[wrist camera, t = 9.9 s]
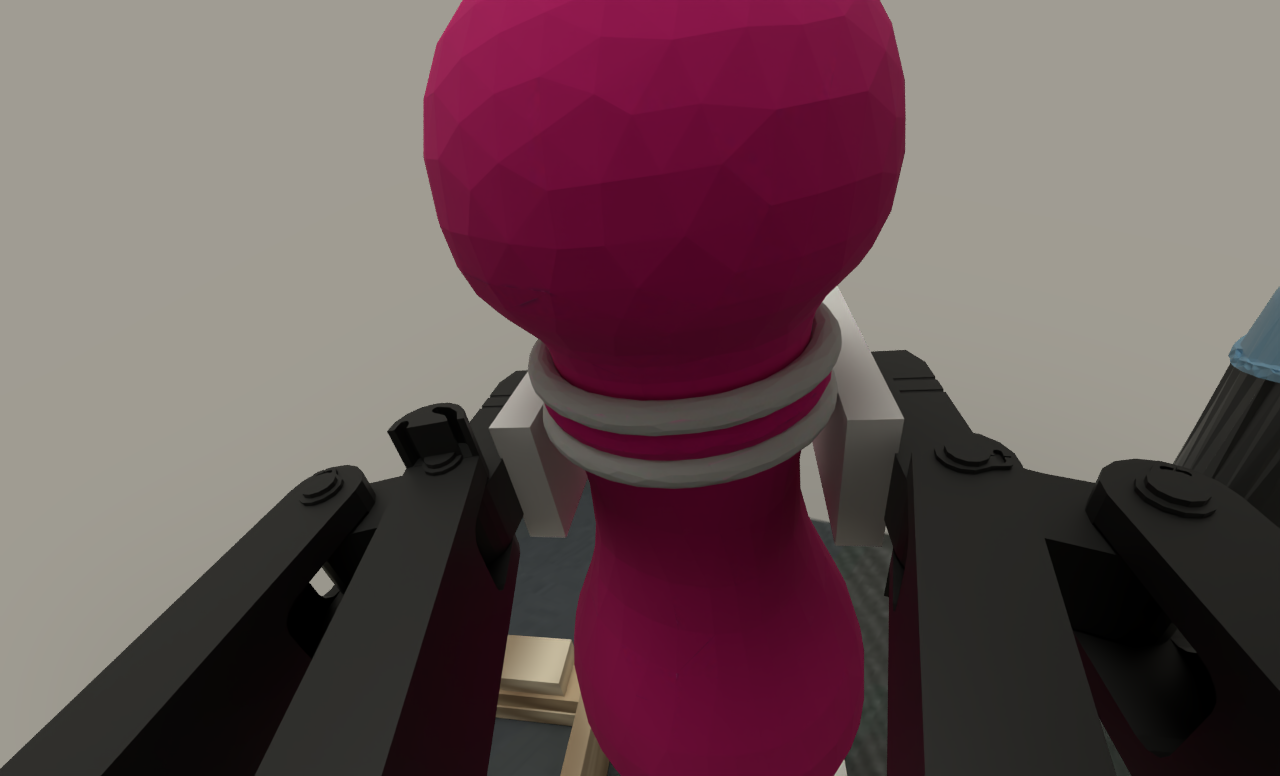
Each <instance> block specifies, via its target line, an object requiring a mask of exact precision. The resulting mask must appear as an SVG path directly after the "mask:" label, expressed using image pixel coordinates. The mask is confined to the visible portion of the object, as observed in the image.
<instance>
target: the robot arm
mask: <svg viewBox="0 0 1280 776" xmlns="http://www.w3.org/2000/svg"><path fill="white" fill-rule="evenodd" d="M823 303H824V304H825V305H826V306H827V307H828V308H829V310H830V311H831V312H832V314H833V315H834V317H835V318H836V319H837V320H838V323H839V326H840V329H841V337H842V346H841V351H840V354H839V357H838V360H837V362H836V364H835V366H834V367H833V370H834V372H835V376H836V381H837V386H838V394H837V401H836V405H835V409H834V412H833V413H832V415H831V417H830V419H829V421H828V423H827V425H826V427H825V428H824V429H823V430H822V431H821V432H820V433H819V435H818V436H817V437H816V438H815V439H814V440H813V441H812V442H813V446H814V451H815V456H816V460H817V465H818V469H819V474H820V478H821V483H822V488H823V492H824V497H825V501H826V506H827V510H828V515H829V519H830V524H831V528H832V533H833V538H834V542H835V545H837V546H871V547H882V544H883V538H884V532H885V526H886V527H887V530H888V533H889V536H890V539H891V542H892V545H893V552H892V557H891V562H890V567H889V572H888V577H887V583H886V588H885V593H884V596H887V597H889V658H888V744H887V776H1116V773H1115V769H1114V766H1113V763H1112V759H1111V756H1110V753H1109V749H1108V746H1107V743H1106V740H1105V736H1104V733H1103V730H1102V726H1101V723H1100V720H1101V722H1102V724H1103V725H1104V727H1105V729H1106V731H1107V733H1108V734H1109V736H1110V738H1111V740H1112V742H1113V743H1114V745H1115V747H1116V749H1117V750H1118V752H1119V754H1120V756H1121V758H1122V759H1123V761H1124V763H1125V765H1126V767H1127V768H1128V770H1129V772H1130V774H1131V776H1280V287H1279V288H1278V289H1277V290H1276V291H1275V293H1274V295H1273V296H1272V298H1271V299H1270V300H1269V302H1268V303H1267V305H1266V306H1265V308H1264V310H1263V311H1262V312H1261V314H1260V315H1259V317H1258V318H1257V320H1256V321H1255V323H1254V324H1253V326H1252V327H1251V329H1250V330H1249V332H1248V333H1247V334H1246V335H1245V336H1243V337H1242V338H1240V339H1239V340H1238V341H1237V342H1236V343H1235V344H1234V345H1233V347H1232V349H1231V351H1230V353H1229V357H1230V362H1231V363H1230V365H1229V367H1228V369H1227V370H1226V373H1225V374H1224V376H1223V378H1222V379H1221V381H1220V384H1219V385H1218V387H1217V388H1216V390H1215V392H1214V394H1213V396H1212V397H1211V399H1210V401H1209V403H1208V404H1207V406H1206V408H1205V410H1204V411H1203V413H1202V415H1201V417H1200V419H1199V420H1198V422H1197V424H1196V426H1195V427H1194V429H1193V431H1192V432H1191V434H1190V436H1189V437H1188V439H1187V441H1186V442H1185V444H1184V446H1183V448H1182V449H1181V451H1180V453H1179V454H1178V456H1177V458H1176V459H1175V461H1174V463H1173V464H1170V463H1166V462H1162V461H1152V460H1142V459H1129V460H1121V461H1115V462H1113V463H1111V464H1109V465H1108V466H1106V467H1104V468H1103V469H1102V470H1101V472H1100V475H1099V477H1098V479H1097V481H1096V483H1091V482H1086V481H1081V480H1075V479H1070V478H1065V477H1059V476H1054V475H1048V474H1044V473H1039V472H1035V471H1031V470H1027V469H1025V468H1023V466H1022V464H1021V463H1020V461H1019V460H1018V458H1017V457H1016V455H1015V453H1013V452H1012V451H1011V450H1009V449H1008V448H1006V447H1005V446H1004V445H1002V444H1001V443H1000V442H997V441H995V440H993V439H990V438H988V437H985V436H983V435H980V434H975V433H973V432H972V431H971V429H970V428H969V426H968V425H967V423H966V422H965V420H964V419H963V417H962V416H961V414H960V413H959V411H958V410H957V408H956V407H955V405H954V404H953V402H952V401H951V399H950V398H949V397H948V395H947V394H946V392H943V388H942V386H941V385H940V383H939V382H938V380H935V376H934V375H933V373H932V371H931V370H930V368H929V367H928V365H927V364H926V362H924V361H923V360H921V359H919V358H918V357H916V356H914V355H913V354H911V353H910V352H908V351H906V350H897V351H877V352H870V350H869V348H868V346H867V344H866V342H865V340H864V338H863V336H862V334H861V332H860V330H859V328H858V326H857V324H856V322H855V320H854V318H853V316H852V314H851V312H850V310H849V308H848V306H847V304H846V302H845V300H844V298H843V296H842V294H841V292H840V290H839V288H838V286H836V287H835V288H834V289H833V290H832V291H831V292H830V293H829V294H828V295H827V296H826V297H825V299H824V300H823ZM543 403H544V402H543V401H542V400H541V398H540V397H539V396H538V395H537V394H536V393H535V391H534V389H533V387H532V384H531V381H530V377H529V374H528V370H527V371H515V372H514V373H513V374H511V375H510V376H508V377H507V378H506V379H504V380H503V381H501V382H500V383H499V384H498V386H497V387H496V388H495V390H494V391H493V392H492V394H491V395H490V398H488V399H487V400H486V402H485V403H484V404H483V405H482V409H480V410H479V411H478V412H477V413H476V415H475V416H474V417H473V419H472V420H471V421H470V423H469V421H468V418H467V416H466V413H465V411H464V409H463V408H461V407H460V406H459V405H456V404H452V403H439V404H433V405H429V406H426V407H422V408H420V409H417V410H415V411H413V412H411V413H409V414H407V415H405V416H404V417H402V418H401V419H399V420H398V421H396V422H395V423H394V424H393V425H392V426H391V428H390V429H389V430H388V431H387V432H388V434H389V436H390V437H391V439H392V442H393V443H394V445H395V447H396V449H397V451H398V453H399V455H400V457H401V459H402V461H403V462H404V464H405V466H406V470H405V472H404V474H403V476H400V477H395V478H391V479H387V480H383V481H379V482H374V483H369V482H368V481H367V479H366V477H365V475H364V474H363V472H362V471H361V470H360V469H359V468H358V467H356V466H350V465H344V466H338V467H332V468H328V469H326V470H322V471H320V472H317V473H315V474H314V475H313V476H312V477H310V478H308V479H306V480H304V481H303V482H301V483H300V484H299V485H298V486H296V487H295V488H294V489H293V490H291V491H290V492H289V493H288V494H287V495H286V496H285V497H284V498H283V499H282V500H281V501H280V502H279V503H278V504H277V505H276V506H275V507H274V508H273V509H272V510H270V511H269V512H268V513H267V515H265V516H264V517H263V518H262V519H261V520H260V521H259V522H258V523H257V524H256V525H255V526H254V527H253V528H252V529H251V530H250V531H248V532H247V533H246V535H244V536H243V537H242V538H241V539H240V540H239V541H238V542H237V543H236V544H235V545H234V546H233V547H232V548H231V549H230V550H229V551H228V552H226V554H224V555H223V556H222V557H221V558H220V559H219V560H218V561H217V562H216V563H215V564H214V565H213V566H212V567H211V568H210V569H209V570H208V571H207V572H206V573H205V574H203V576H202V577H201V578H199V579H198V580H197V581H196V582H195V583H194V584H193V585H192V586H191V587H190V588H189V589H188V590H187V591H186V592H185V593H184V594H183V595H182V596H181V597H180V598H178V599H177V600H176V601H175V602H174V603H173V604H172V605H171V606H170V607H169V608H168V609H167V610H166V611H165V612H164V613H163V614H162V615H161V616H160V617H159V618H157V620H155V621H154V622H153V623H152V624H151V625H150V626H149V627H148V628H147V629H146V630H145V631H144V632H143V633H142V634H141V635H140V636H139V637H138V638H137V639H136V640H134V641H133V642H132V643H131V644H130V645H129V646H128V647H127V648H126V649H125V650H124V651H123V652H122V653H121V654H120V655H119V656H118V657H117V658H116V659H115V660H114V661H113V662H112V663H110V664H109V665H108V666H107V667H106V668H105V669H104V670H103V671H102V672H101V673H100V674H99V675H98V676H97V677H96V678H95V679H94V680H93V681H92V682H91V683H90V684H88V685H87V686H86V688H84V689H83V690H82V691H81V692H80V693H79V694H78V695H77V696H76V697H75V698H74V699H73V700H72V701H71V702H70V703H69V704H68V705H67V706H65V707H64V709H63V710H61V711H60V712H59V713H58V714H57V715H56V716H55V717H54V718H53V719H52V720H51V721H50V722H49V723H48V724H47V725H46V726H45V727H44V728H43V729H41V730H40V732H38V733H37V734H36V735H35V736H34V737H33V738H32V739H31V740H30V741H29V742H28V743H27V744H26V745H25V746H24V747H23V748H22V749H21V750H19V751H18V752H17V753H16V754H15V755H14V756H13V757H12V759H10V760H9V761H8V762H7V763H6V764H5V765H4V766H3V767H2V768H1V769H0V776H487V771H488V764H489V757H490V751H491V744H492V737H493V731H494V724H495V717H496V711H497V704H498V697H499V691H500V684H501V677H502V671H503V664H504V657H505V651H506V644H507V637H508V631H509V624H510V617H511V611H512V604H513V597H514V591H515V584H516V577H517V571H518V564H519V557H520V547H519V543H518V540H517V538H516V535H515V532H516V530H517V528H518V526H519V524H520V522H521V519H522V517H523V518H524V521H525V523H526V526H527V529H528V531H529V534H530V536H531V537H565V538H566V537H567V534H568V531H569V528H570V525H571V523H572V520H573V517H574V514H575V511H576V509H577V506H578V503H579V500H580V497H581V495H582V492H583V489H584V486H585V483H586V481H587V478H588V477H587V474H586V471H585V470H584V469H582V468H580V467H579V466H577V465H575V464H573V463H572V462H571V461H569V460H568V459H567V458H566V457H565V456H564V455H562V454H561V453H560V452H559V451H558V449H557V448H556V447H555V446H554V444H553V443H552V442H551V441H550V439H549V437H548V434H547V432H546V429H545V427H544V422H543ZM321 567H322V568H323V569H324V571H325V572H326V573H327V575H328V576H329V577H330V579H331V580H332V581H333V583H334V584H335V585H334V586H333V588H332V589H331V590H330V591H329V592H328V593H326V594H325V595H324V596H320V595H319V594H318V593H317V592H316V590H315V589H314V588H313V587H312V585H311V584H310V583H309V582H310V581H311V579H312V578H313V577H314V576H315V574H316V573H317V572H318V571H319V569H320V568H321ZM1099 718H1100V720H1099Z"/></svg>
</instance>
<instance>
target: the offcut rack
mask: <svg viewBox="0 0 1280 776" xmlns="http://www.w3.org/2000/svg"><path fill="white" fill-rule="evenodd" d="M496 717H497V718H506V719H514V720H523V721H532V722H540V723H549V724H558V725H566V726H572V730H571V734H570V738H569V743H568V747H567V751H566V755H565V759H564V763H563V767H562V771H561V775H560V776H607V772H608V767H609V759H608V758H607V757H606V755H605V754H604V752H603V751H602V750H601V748H600V746H599V744H598V741H597V739H596V737H595V735H594V733H593V731H592V729H591V727H590V725H589V723H588V719H587V716H586V712H585V708H584V704H583V700H582V696H581V692H580V687H579V683H578V679H577V674H576V670H575V666H574V646H573V643H572V640H569V639H556V638H543V637H529V636H516V635H508V637H507V644H506V651H505V657H504V664H503V671H502V677H501V684H500V691H499V697H498V704H497V711H496Z"/></svg>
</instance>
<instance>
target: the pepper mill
mask: <svg viewBox="0 0 1280 776" xmlns="http://www.w3.org/2000/svg"><path fill="white" fill-rule="evenodd" d="M904 154H905V79H904V75H903V70H902V66H901V61H900V57H899V53H898V48H897V44H896V40H895V35H894V31H893V27H892V23H891V21H890V19H889V17H888V15H887V13H886V11H885V9H884V7H883V5H882V4H881V2H880V0H463V1H462V2H461V4H460V6H459V7H458V10H457V11H456V12H455V14H454V16H453V17H452V19H451V21H450V23H449V24H448V26H447V28H446V29H445V31H444V33H443V34H442V36H441V38H440V40H439V41H438V43H437V45H436V49H435V54H434V58H433V62H432V66H431V71H430V75H429V79H428V83H427V87H426V91H425V96H424V161H425V165H426V170H427V174H428V178H429V183H430V187H431V191H432V195H433V200H434V204H435V209H436V212H437V217H438V221H439V224H440V227H441V229H442V232H443V234H444V236H445V239H446V241H447V243H448V246H449V248H450V250H451V253H452V255H453V258H454V260H455V262H456V265H457V267H458V268H459V270H460V271H461V272H462V274H463V275H464V277H465V278H466V280H467V281H468V282H469V284H470V285H471V287H472V288H473V290H474V291H475V293H476V294H477V295H478V296H479V297H480V298H482V299H483V300H484V301H485V302H486V303H488V304H489V305H490V306H491V307H493V308H494V309H495V310H496V311H497V312H499V313H500V314H501V315H503V316H504V317H505V318H507V319H508V320H510V321H512V322H513V323H514V324H516V325H518V326H519V327H521V328H523V329H524V330H526V331H527V332H529V333H530V334H532V335H534V336H535V337H537V338H538V340H537V341H536V343H535V345H534V346H533V348H532V351H531V353H530V357H529V365H528V374H529V377H530V381H531V384H532V387H533V389H534V391H535V393H536V394H537V395H538V396H539V397H540V398H541V400H542V401H543V402H544V403H543V422H544V427H545V429H546V432H547V434H548V437H549V439H550V441H551V442H552V443H553V444H554V446H555V447H556V448H557V449H558V451H559V452H560V453H561V454H562V455H564V456H565V457H566V458H567V459H568V460H569V461H571V462H572V463H573V464H575V465H577V466H579V467H580V468H582V469H584V470H585V471H586V474H587V477H588V479H589V482H590V486H591V493H592V499H593V506H594V513H595V519H596V540H595V549H594V553H593V557H592V561H591V564H590V567H589V569H588V572H587V575H586V578H585V581H584V584H583V587H582V590H581V593H580V596H579V601H578V606H577V611H576V621H575V634H574V666H575V670H576V674H577V679H578V683H579V687H580V692H581V696H582V700H583V704H584V708H585V712H586V716H587V719H588V723H589V725H590V727H591V729H592V731H593V733H594V735H595V737H596V739H597V741H598V744H599V746H600V748H601V750H602V751H603V752H604V754H605V755H606V757H607V758H608V759H609V761H610V762H611V763H612V765H613V766H614V767H615V769H616V770H617V771H618V773H619V774H620V775H621V776H834V775H835V773H836V772H837V770H838V768H839V767H840V765H841V764H842V762H843V760H844V759H845V757H846V755H847V754H848V752H849V751H850V749H851V746H852V744H853V741H854V738H855V735H856V733H857V730H858V727H859V725H860V719H861V713H862V707H863V701H864V648H863V642H862V636H861V630H860V626H859V623H858V620H857V617H856V614H855V611H854V608H853V605H852V602H851V598H850V595H849V592H848V589H847V586H846V583H845V581H844V579H843V577H842V575H841V573H840V571H839V570H838V568H837V566H836V564H835V562H834V560H833V559H832V557H831V555H830V553H829V552H828V550H827V548H826V547H825V545H824V543H823V541H822V540H821V538H820V536H819V534H818V533H817V531H816V529H815V527H814V526H813V524H812V522H811V520H810V518H809V516H808V513H807V510H806V506H805V503H804V499H803V496H802V492H801V489H800V460H799V459H800V454H801V450H802V449H803V448H805V447H806V446H808V445H809V444H810V443H811V442H812V441H813V440H814V439H815V438H816V437H817V436H818V435H819V433H820V432H821V431H822V430H823V429H824V428H825V427H826V425H827V423H828V421H829V419H830V417H831V415H832V413H833V412H834V409H835V405H836V401H837V394H838V386H837V381H836V376H835V372H834V370H833V367H834V366H835V364H836V362H837V360H838V357H839V354H840V351H841V346H842V337H841V329H840V326H839V323H838V320H837V319H836V318H835V317H834V315H833V314H832V312H831V311H830V310H829V308H828V307H827V306H826V305H825V304H824V303H823V300H824V299H825V297H826V296H827V295H828V294H829V293H830V292H831V291H832V290H833V289H834V288H835V287H836V286H837V285H838V284H839V283H840V282H841V281H842V280H843V279H844V278H845V277H846V276H847V275H848V274H849V273H850V272H852V271H853V269H855V268H856V267H857V266H858V265H859V264H860V262H861V261H862V260H863V258H864V257H865V255H866V254H867V253H868V251H869V250H870V249H871V248H872V246H873V244H874V242H875V240H876V239H877V237H878V235H879V233H880V231H881V229H882V227H883V225H884V223H885V222H886V220H887V218H888V216H889V214H890V212H891V210H892V205H893V201H894V197H895V193H896V188H897V184H898V180H899V175H900V171H901V167H902V163H903V158H904Z"/></svg>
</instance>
